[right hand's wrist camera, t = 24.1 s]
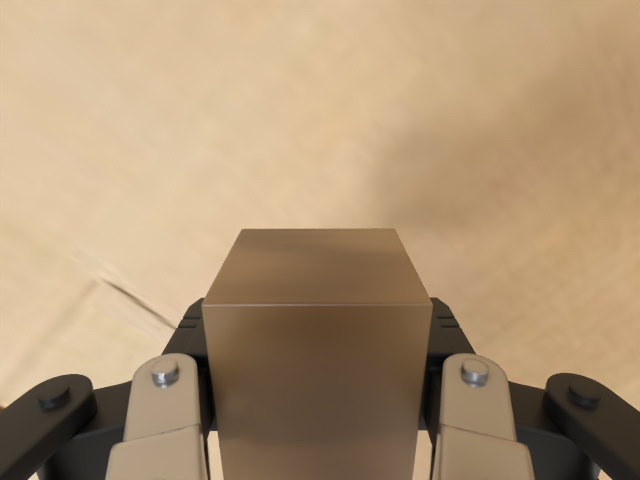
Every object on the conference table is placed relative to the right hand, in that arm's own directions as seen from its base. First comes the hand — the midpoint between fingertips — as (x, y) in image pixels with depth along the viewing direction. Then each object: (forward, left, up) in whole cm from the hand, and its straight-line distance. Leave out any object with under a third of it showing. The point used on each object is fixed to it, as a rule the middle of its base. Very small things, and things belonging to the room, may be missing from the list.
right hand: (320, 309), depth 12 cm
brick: (0, 0, -1) cm, 1 cm away
